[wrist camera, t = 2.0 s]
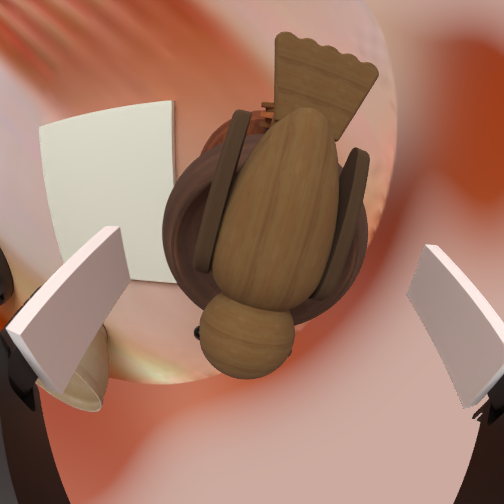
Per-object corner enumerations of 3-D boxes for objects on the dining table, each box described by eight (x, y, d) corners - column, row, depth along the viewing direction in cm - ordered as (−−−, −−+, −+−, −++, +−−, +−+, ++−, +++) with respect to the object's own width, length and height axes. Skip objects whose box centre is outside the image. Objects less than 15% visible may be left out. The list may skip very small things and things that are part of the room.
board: (69, 268, 29) (66, 271, 28) (43, 125, 20) (38, 127, 19) (184, 279, 28) (182, 283, 28) (174, 100, 20) (171, 100, 19)
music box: (191, 99, 20) (11, 61, 2) (321, 94, 20) (536, 85, 2) (209, 258, 27) (182, 466, 9) (318, 250, 27) (403, 436, 10)
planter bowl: (28, 277, 30) (-13, 321, 21) (104, 280, 29) (60, 343, 20) (67, 351, 38) (43, 395, 28) (141, 365, 37) (120, 422, 27)
